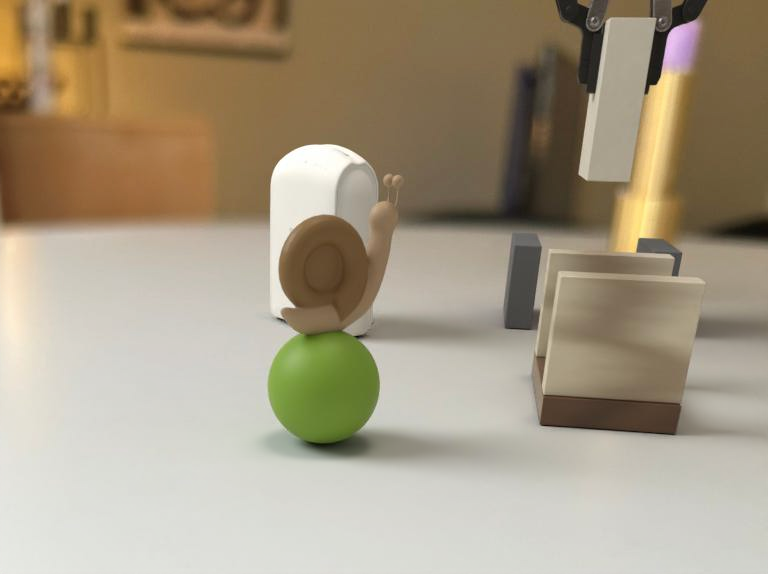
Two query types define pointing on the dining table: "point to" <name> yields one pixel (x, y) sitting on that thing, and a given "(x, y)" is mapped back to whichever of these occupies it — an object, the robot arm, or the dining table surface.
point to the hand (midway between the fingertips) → (616, 92)
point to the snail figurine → (330, 323)
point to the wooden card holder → (614, 340)
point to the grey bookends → (527, 268)
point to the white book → (617, 100)
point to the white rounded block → (319, 204)
